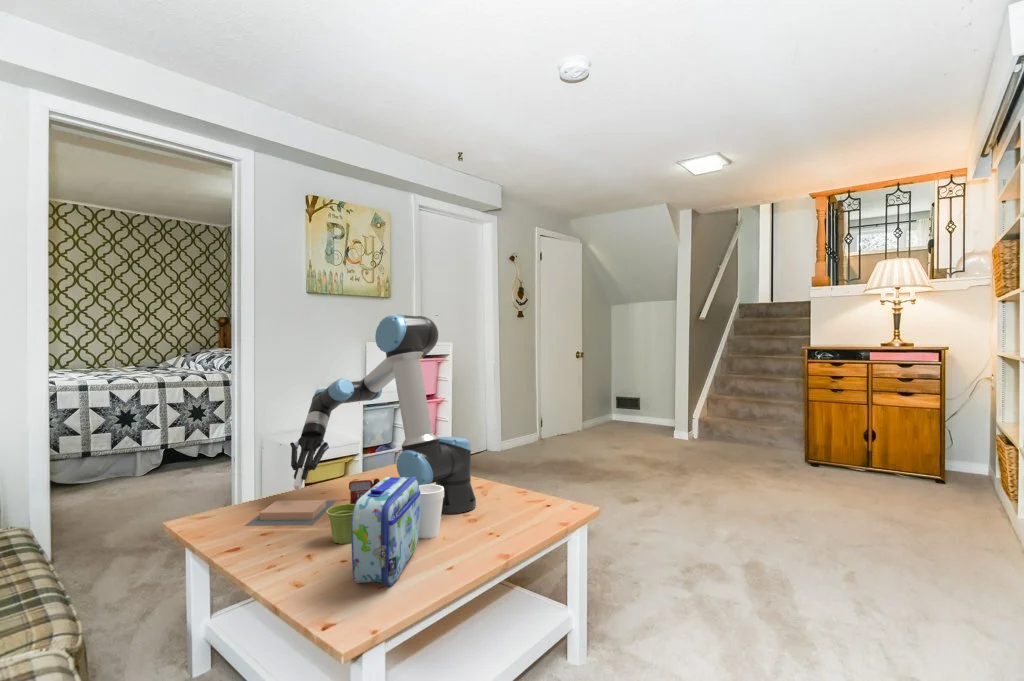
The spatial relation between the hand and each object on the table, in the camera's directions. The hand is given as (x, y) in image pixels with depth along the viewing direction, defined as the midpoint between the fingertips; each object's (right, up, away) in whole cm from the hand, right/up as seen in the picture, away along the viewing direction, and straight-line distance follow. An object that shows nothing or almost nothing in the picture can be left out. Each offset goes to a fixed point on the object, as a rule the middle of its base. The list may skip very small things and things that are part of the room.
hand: (296, 488), depth 169 cm
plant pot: (+23, -8, -23) cm, 34 cm away
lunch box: (+39, -8, -41) cm, 57 cm away
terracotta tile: (0, -6, +3) cm, 7 cm away
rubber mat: (0, -8, -1) cm, 8 cm away
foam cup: (+45, -8, -19) cm, 50 cm away
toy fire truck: (+23, -8, +1) cm, 24 cm away
